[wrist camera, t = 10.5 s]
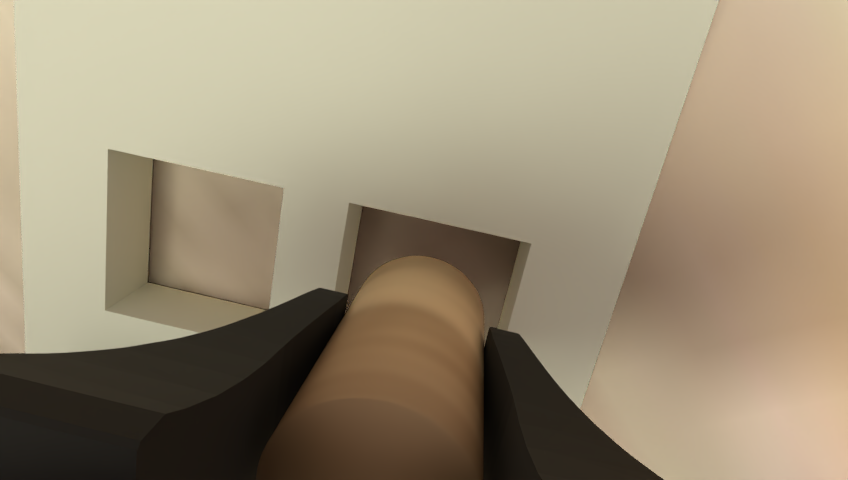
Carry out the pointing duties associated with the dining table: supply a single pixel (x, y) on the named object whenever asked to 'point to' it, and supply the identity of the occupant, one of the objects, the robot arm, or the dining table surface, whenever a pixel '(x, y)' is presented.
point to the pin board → (346, 146)
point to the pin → (392, 385)
